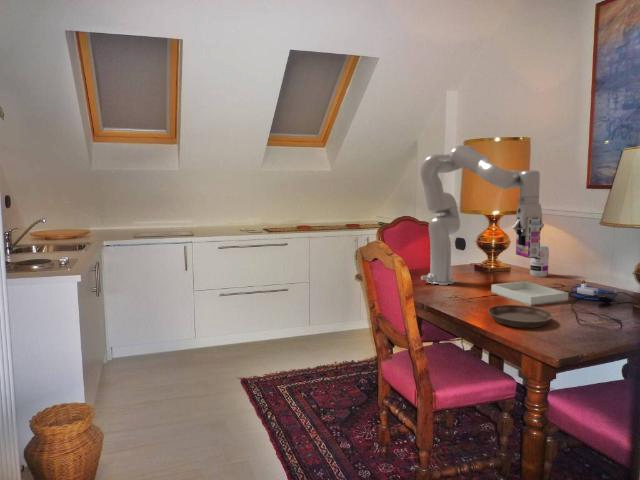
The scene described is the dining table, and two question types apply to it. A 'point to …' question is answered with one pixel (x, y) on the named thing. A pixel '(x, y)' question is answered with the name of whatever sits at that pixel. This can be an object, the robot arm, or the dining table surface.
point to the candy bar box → (530, 239)
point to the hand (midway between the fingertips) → (527, 244)
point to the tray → (529, 293)
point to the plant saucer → (520, 316)
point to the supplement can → (540, 263)
